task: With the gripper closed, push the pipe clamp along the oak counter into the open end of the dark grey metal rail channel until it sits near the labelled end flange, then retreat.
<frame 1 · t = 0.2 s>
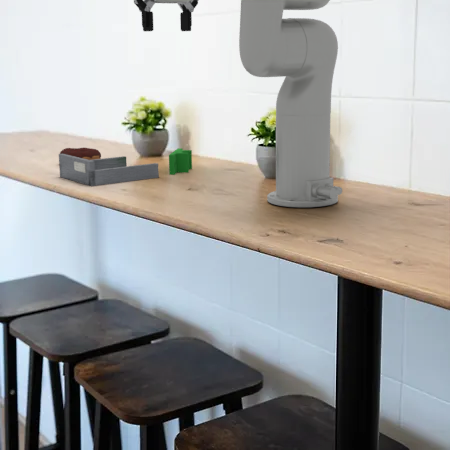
hand: (167, 31, 168), 31 cm above the table, fingers open, 9 cm apart
donut: (81, 165, 188), on the table
rail: (108, 177, 168), on the table
pipe clamp: (181, 172, 175), on the table
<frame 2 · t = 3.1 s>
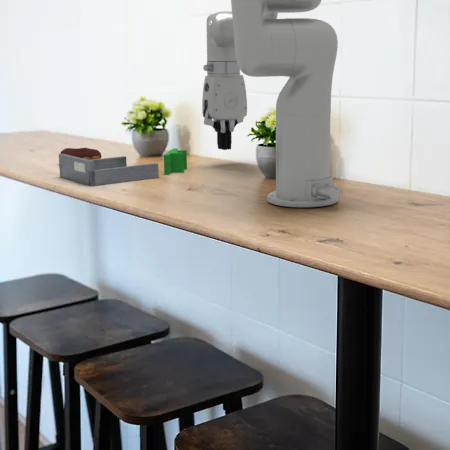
hand: (224, 148, 182), 4 cm above the table, fingers closed
pipe clamp: (176, 172, 175), on the table
everything else where it was.
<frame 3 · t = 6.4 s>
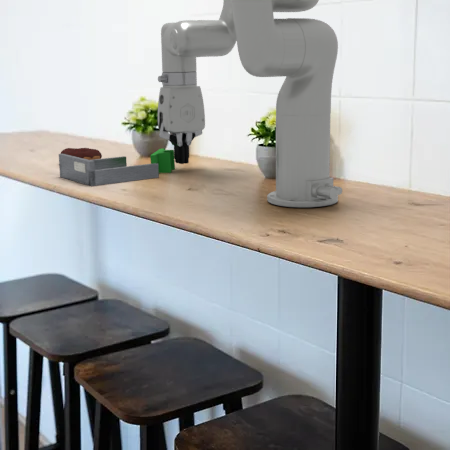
hand: (181, 162, 175), 2 cm above the table, fingers closed
pipe clamp: (164, 172, 175), on the table
everything else where it was.
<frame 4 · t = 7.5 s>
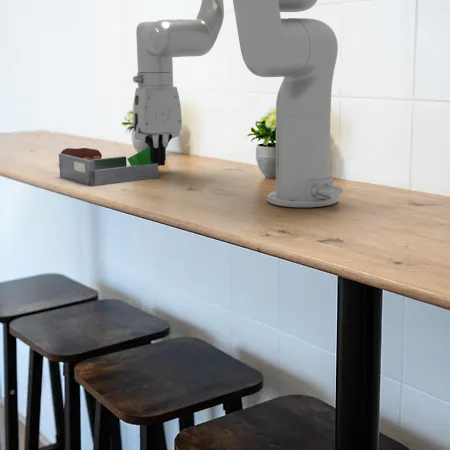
hand: (158, 164, 171), 2 cm above the table, fingers closed
pipe clamp: (150, 170, 174), on the table, touching gripper
everything else where it was.
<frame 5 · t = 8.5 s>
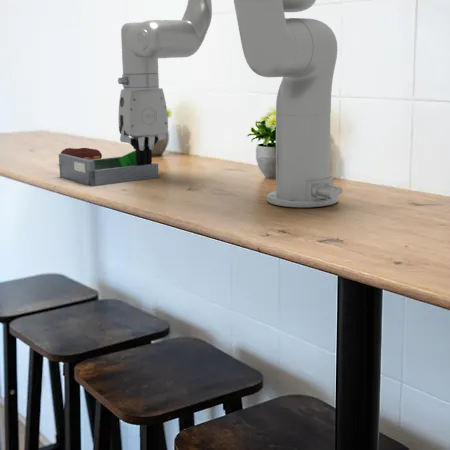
hand: (144, 167, 169), 2 cm above the table, fingers closed
pipe clamp: (140, 171, 173), on the table
everything else where it was.
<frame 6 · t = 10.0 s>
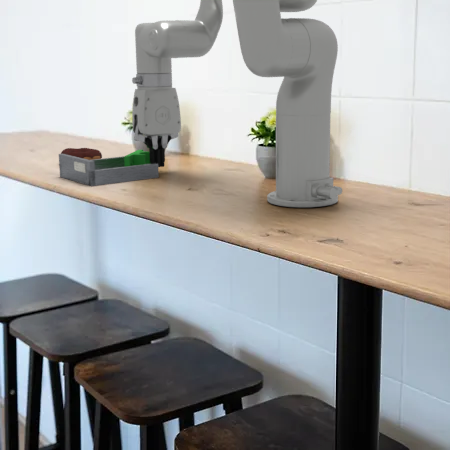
hand: (157, 166, 171), 2 cm above the table, fingers closed
pipe clamp: (139, 173, 174), on the table
everything else where it was.
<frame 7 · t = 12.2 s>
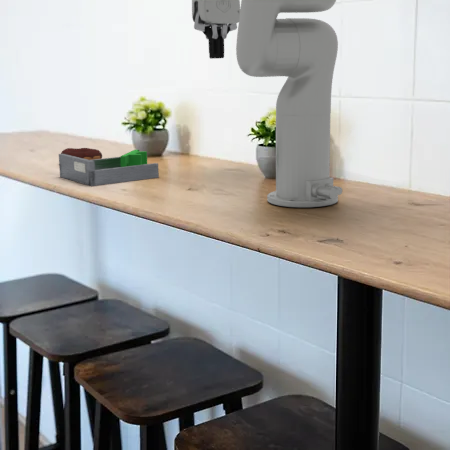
hand: (216, 58, 167), 25 cm above the table, fingers closed
nothing on the table moved.
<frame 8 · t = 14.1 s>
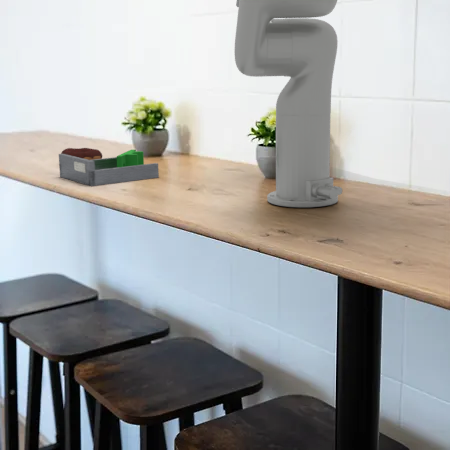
hand: (258, 36, 164), 29 cm above the table, fingers closed
at the end: pipe clamp inside the target area on the rail (7.5 cm from its centre), point 0.0 cm above the rail's base; pipe clamp moved 11.3 cm from its start; the gripper is holding nothing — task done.
